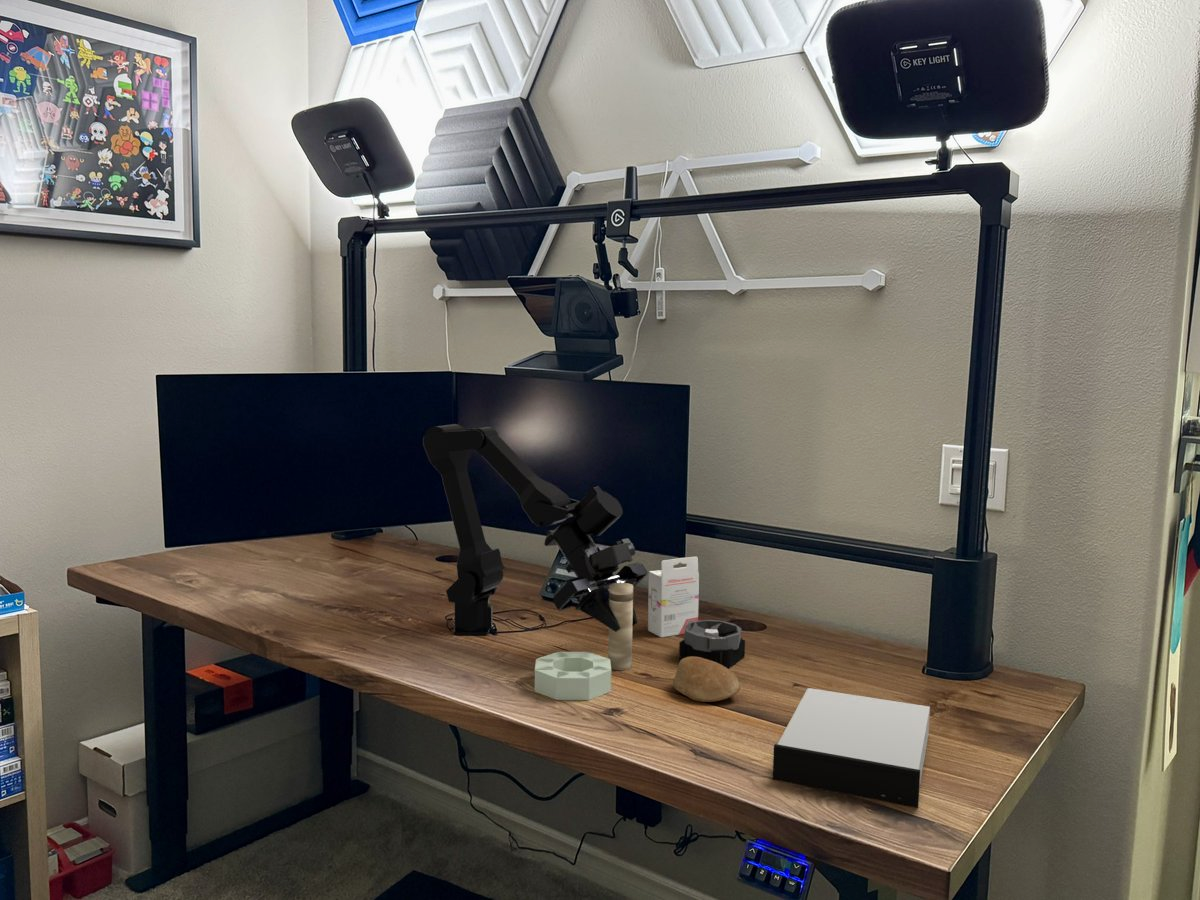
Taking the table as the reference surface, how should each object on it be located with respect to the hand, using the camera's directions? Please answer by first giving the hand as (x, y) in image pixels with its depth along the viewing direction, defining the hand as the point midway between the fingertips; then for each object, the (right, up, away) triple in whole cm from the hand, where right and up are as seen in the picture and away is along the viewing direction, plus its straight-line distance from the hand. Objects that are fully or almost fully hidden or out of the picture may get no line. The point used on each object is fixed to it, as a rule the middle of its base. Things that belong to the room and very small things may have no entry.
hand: (626, 627), depth 157 cm
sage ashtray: (-9, -8, -7) cm, 14 cm away
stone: (+12, -9, -10) cm, 18 cm away
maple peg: (-1, -7, +2) cm, 7 cm away
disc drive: (+30, -12, -31) cm, 45 cm away
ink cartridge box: (+9, -5, +21) cm, 24 cm away
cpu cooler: (+15, -7, +6) cm, 18 cm away
